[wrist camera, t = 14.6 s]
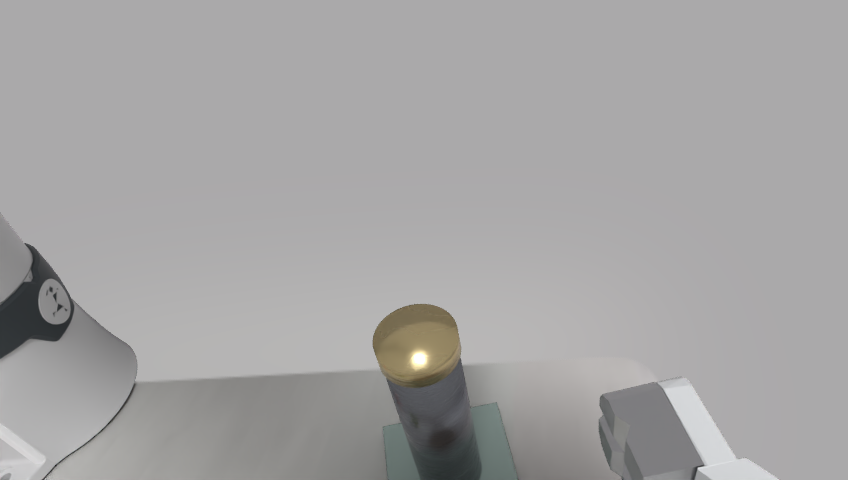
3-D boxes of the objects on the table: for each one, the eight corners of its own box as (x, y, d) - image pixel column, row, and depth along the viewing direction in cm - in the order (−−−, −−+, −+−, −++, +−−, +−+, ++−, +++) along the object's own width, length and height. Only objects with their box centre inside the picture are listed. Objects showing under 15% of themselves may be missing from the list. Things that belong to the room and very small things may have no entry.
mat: (395, 549, 39) (394, 545, 38) (384, 431, 46) (382, 426, 45) (528, 521, 39) (528, 516, 38) (497, 406, 46) (496, 402, 45)
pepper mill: (421, 507, 40) (375, 378, 31) (413, 445, 44) (370, 313, 34) (490, 493, 40) (464, 360, 31) (476, 432, 44) (450, 296, 34)
